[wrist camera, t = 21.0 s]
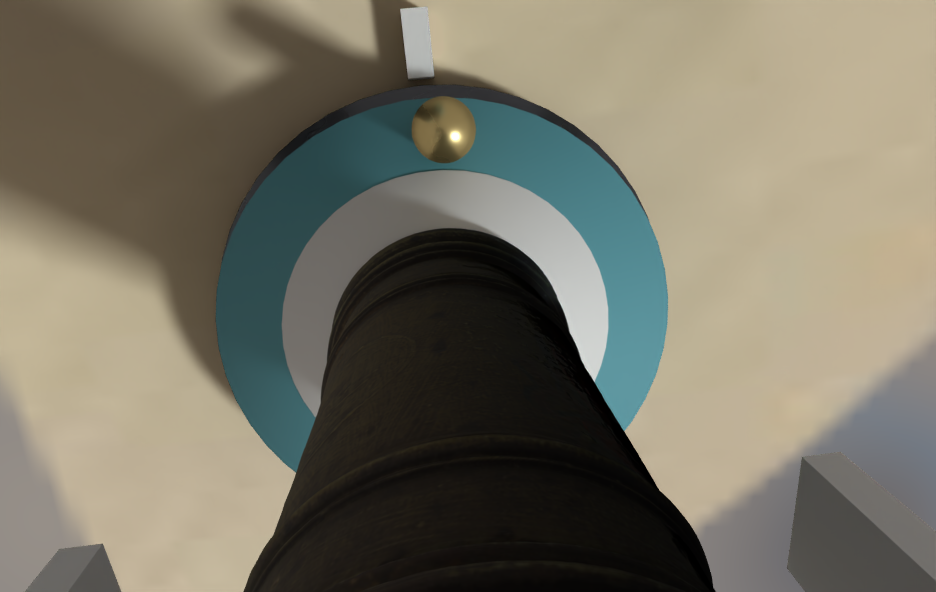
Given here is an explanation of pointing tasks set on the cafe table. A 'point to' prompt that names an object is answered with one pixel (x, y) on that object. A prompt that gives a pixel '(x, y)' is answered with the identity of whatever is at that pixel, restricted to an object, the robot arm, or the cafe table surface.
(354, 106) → the turntable base
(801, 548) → the robot arm
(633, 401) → the turntable
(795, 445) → the cafe table surface
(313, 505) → the container
